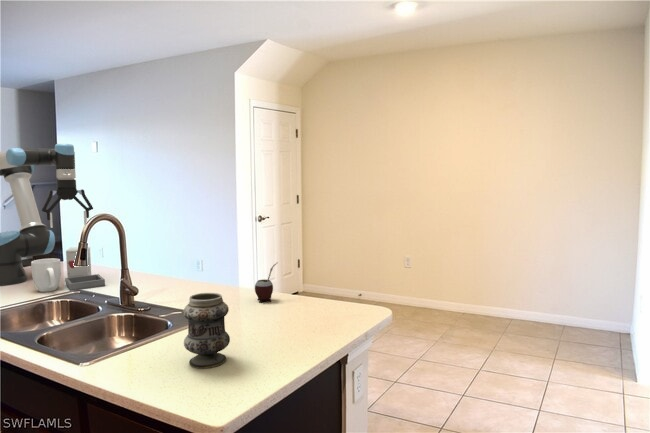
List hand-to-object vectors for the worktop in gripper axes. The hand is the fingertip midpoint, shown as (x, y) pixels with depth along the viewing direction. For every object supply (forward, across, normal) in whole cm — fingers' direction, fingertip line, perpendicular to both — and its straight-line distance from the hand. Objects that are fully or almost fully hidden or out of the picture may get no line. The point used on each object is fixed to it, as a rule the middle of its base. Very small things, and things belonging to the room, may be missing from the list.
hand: (68, 226), depth 218 cm
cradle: (+26, +5, -6) cm, 27 cm away
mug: (+27, -10, -7) cm, 29 cm away
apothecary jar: (+25, +21, -121) cm, 125 cm away
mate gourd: (+25, +61, -75) cm, 100 cm away
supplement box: (+27, +4, +9) cm, 29 cm away
